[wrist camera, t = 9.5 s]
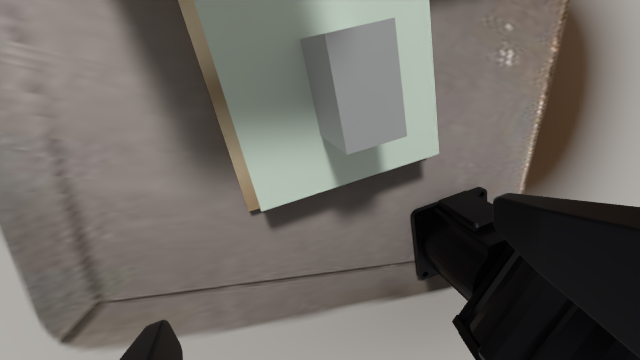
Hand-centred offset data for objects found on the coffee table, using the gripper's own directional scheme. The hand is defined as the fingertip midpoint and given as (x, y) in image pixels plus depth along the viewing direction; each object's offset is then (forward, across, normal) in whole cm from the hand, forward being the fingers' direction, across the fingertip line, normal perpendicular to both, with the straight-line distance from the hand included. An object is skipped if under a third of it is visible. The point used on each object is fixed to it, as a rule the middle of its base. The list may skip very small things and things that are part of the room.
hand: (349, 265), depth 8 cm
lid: (+12, -4, -3) cm, 13 cm away
